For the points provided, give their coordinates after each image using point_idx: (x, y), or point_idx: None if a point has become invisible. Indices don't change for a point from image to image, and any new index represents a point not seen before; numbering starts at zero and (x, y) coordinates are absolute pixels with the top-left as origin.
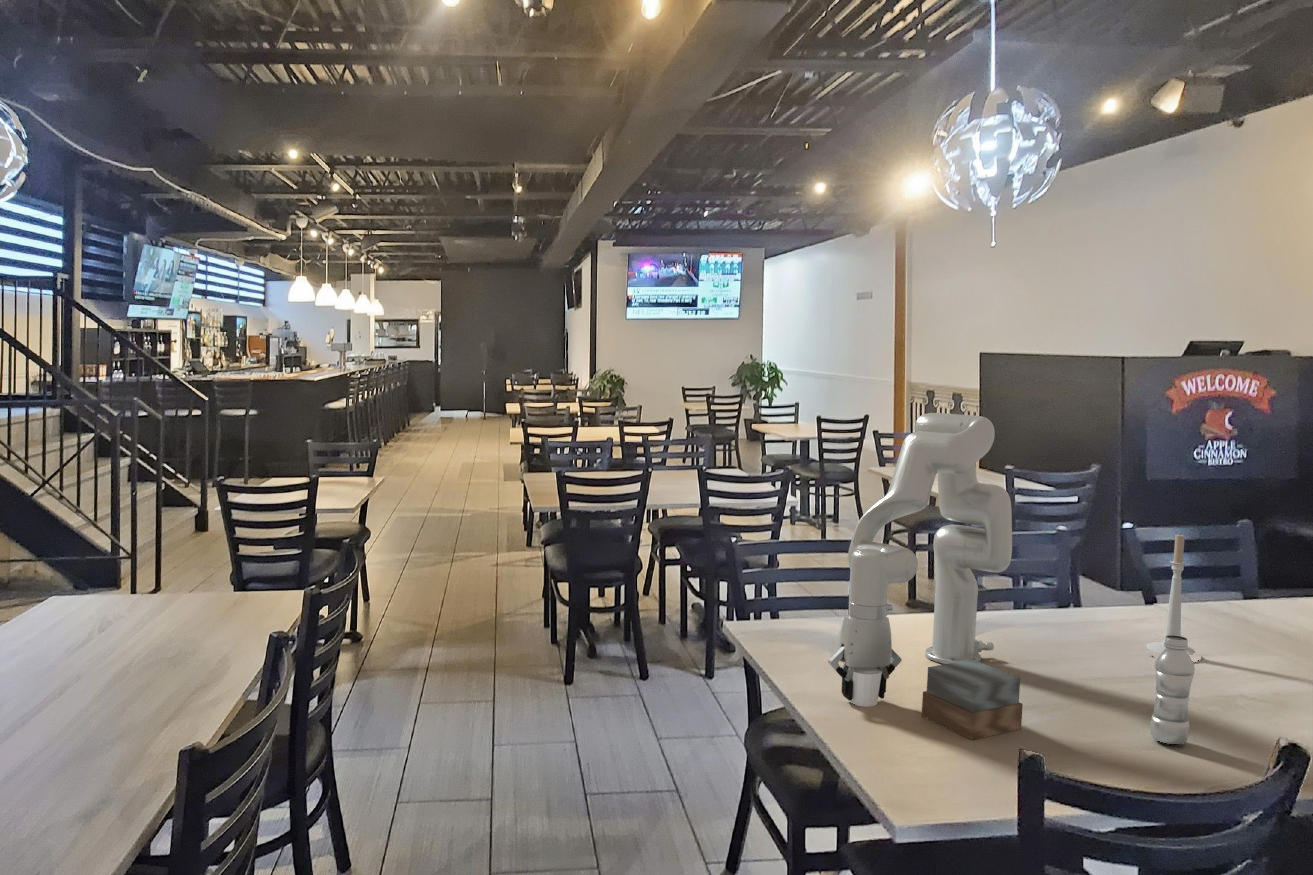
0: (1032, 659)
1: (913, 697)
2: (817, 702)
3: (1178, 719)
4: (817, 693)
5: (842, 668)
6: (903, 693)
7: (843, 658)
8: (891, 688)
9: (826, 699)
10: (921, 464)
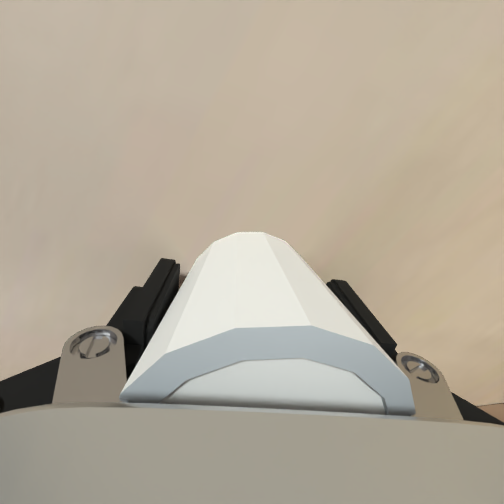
0: None
1: (471, 298)
2: (27, 238)
3: None
4: (67, 112)
5: (56, 393)
6: (480, 251)
7: (18, 447)
8: (497, 178)
9: (89, 215)
10: None
